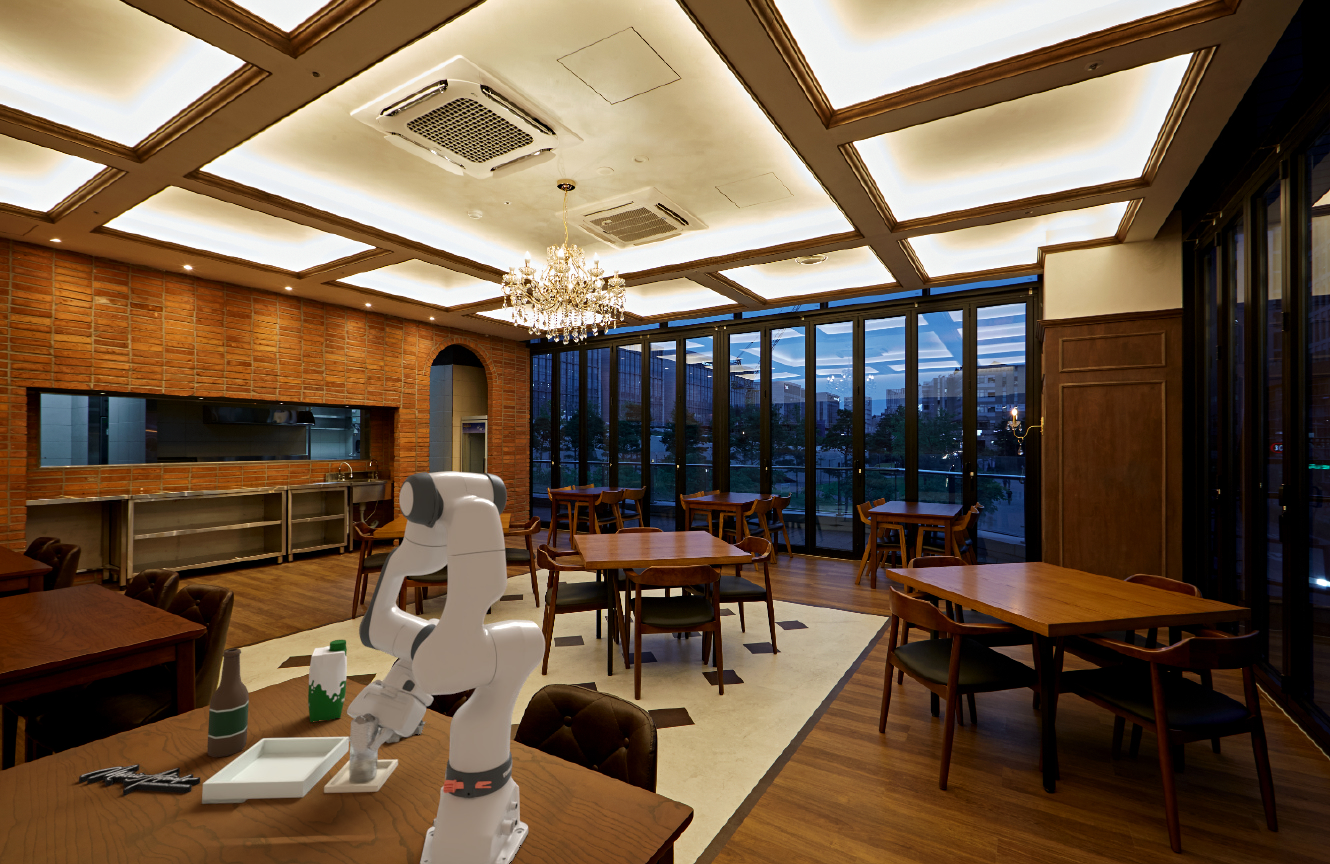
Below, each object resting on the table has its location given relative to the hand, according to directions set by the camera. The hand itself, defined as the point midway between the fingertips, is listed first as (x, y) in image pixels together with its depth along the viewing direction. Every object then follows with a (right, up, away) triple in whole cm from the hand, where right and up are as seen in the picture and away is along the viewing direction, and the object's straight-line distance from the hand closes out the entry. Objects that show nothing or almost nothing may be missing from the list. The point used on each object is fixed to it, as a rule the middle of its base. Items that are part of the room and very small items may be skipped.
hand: (361, 745), depth 129 cm
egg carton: (-1, -10, +22) cm, 24 cm away
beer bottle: (-40, -9, +14) cm, 43 cm away
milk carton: (-27, -10, +33) cm, 44 cm away
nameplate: (-48, -8, -1) cm, 49 cm away
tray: (0, -8, 0) cm, 8 cm away
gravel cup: (0, -7, 0) cm, 7 cm away
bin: (-19, -8, +2) cm, 21 cm away
